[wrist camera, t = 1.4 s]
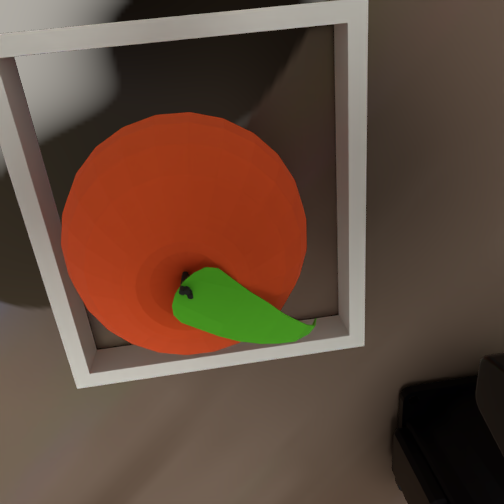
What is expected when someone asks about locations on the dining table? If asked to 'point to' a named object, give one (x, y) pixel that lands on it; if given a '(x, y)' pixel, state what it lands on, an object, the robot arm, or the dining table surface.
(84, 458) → the dining table surface
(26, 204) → the white flat square frame
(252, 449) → the dining table surface
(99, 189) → the clementine
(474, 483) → the robot arm
